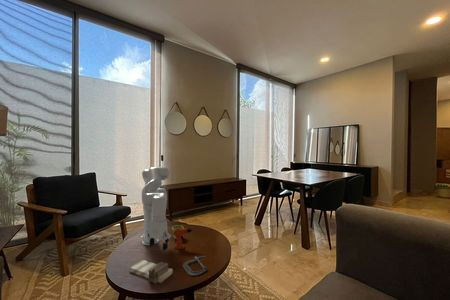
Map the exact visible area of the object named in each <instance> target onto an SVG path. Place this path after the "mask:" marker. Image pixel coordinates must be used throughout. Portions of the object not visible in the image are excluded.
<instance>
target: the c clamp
mask: <svg viewBox="0 0 450 300" xmlns="http://www.w3.org/2000/svg"><path fill="white" fill-rule="evenodd" d="M202 258H206V255H203V256H198V257H197V256H194V257H193V259H189V260H186V261H184V262H183V263H182V268H183V269H184V271H185V272H186V274H187V275H188V276H190V277H196V276H200V275H202V274H203V273H205V272H207V271H208V267H207V266H204V264H203V263H202V262H201V260H200V259H202ZM194 263H198V265H199V266H200V267H201V268H202V269H201V270H197V271H193V270H192V268H191V267H190V266H189V265H190V264H194Z"/></svg>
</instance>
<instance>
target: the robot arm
mask: <svg viewBox="0 0 450 300" xmlns="http://www.w3.org/2000/svg"><path fill="white" fill-rule="evenodd" d="M141 174H142V179H143V181H144V186H143V188H142V190H141V202H142V205H143V206H142V210H143V219H144V221H143V223H144V224H143V225H144V226H143V234H142V235H141V237H140V238H141V239H142V240H141V244H142V245H144V246H149V247H152V246H155V245H157V244H158V243H160V241H162V251H166V250H167V249H168V243H169V241H171V238H172V234H170V233H169V232H168V223H167V220H166V219H167V218H166V215H167V212H166V211H167V202H168V194H167V190H166V188H165V187H161V186H162V185H163V182H162V181H166V180H167V179H168V178H170V171H169V168H168V167H167V166H153V167H150V168H148V169H144V170H143V171H142V173H141Z"/></svg>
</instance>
